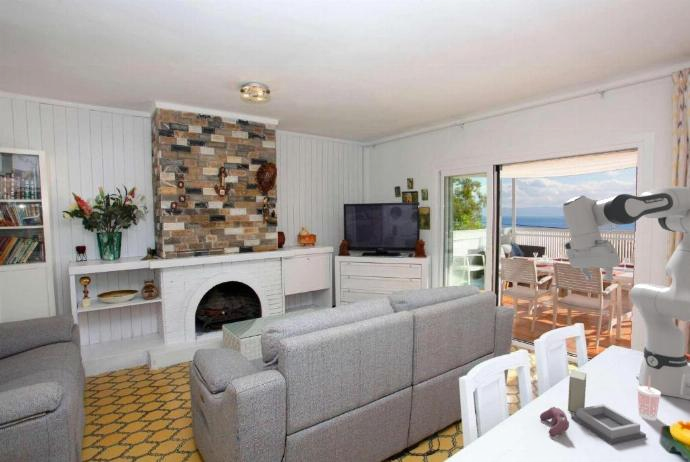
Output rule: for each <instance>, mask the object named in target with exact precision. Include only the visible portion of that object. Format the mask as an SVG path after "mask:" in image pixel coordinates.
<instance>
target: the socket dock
mask: <svg viewBox="0 0 690 462" xmlns="http://www.w3.org/2000/svg"><path fill="white" fill-rule="evenodd" d="M570 418H571V419H572V420H574V422H577V423H578V424H580V425H581V426H583V427H584V428H585V429H587V430H588V431H590V432H592V433H593V434H595V435H596V436H598V437H600V438H601V439H603V440H605V442H607V443H609V444H610V445H617V444H621V443H626V442H630V441H635V440H639V439H644V438H647V433H645V432H644V431H641V424H640V423H638V422H637V421H634V420H633V419H630V418H629V417H627V416H626V415H623V414H621V413H620V412H618V411H616V410H614V409H613V408H611V407H609V406H607V405H606V404H603V403H602V404H596V405H592V406H587V407H584V408H579V409H577V413H575V414H571V416H570Z"/></svg>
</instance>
